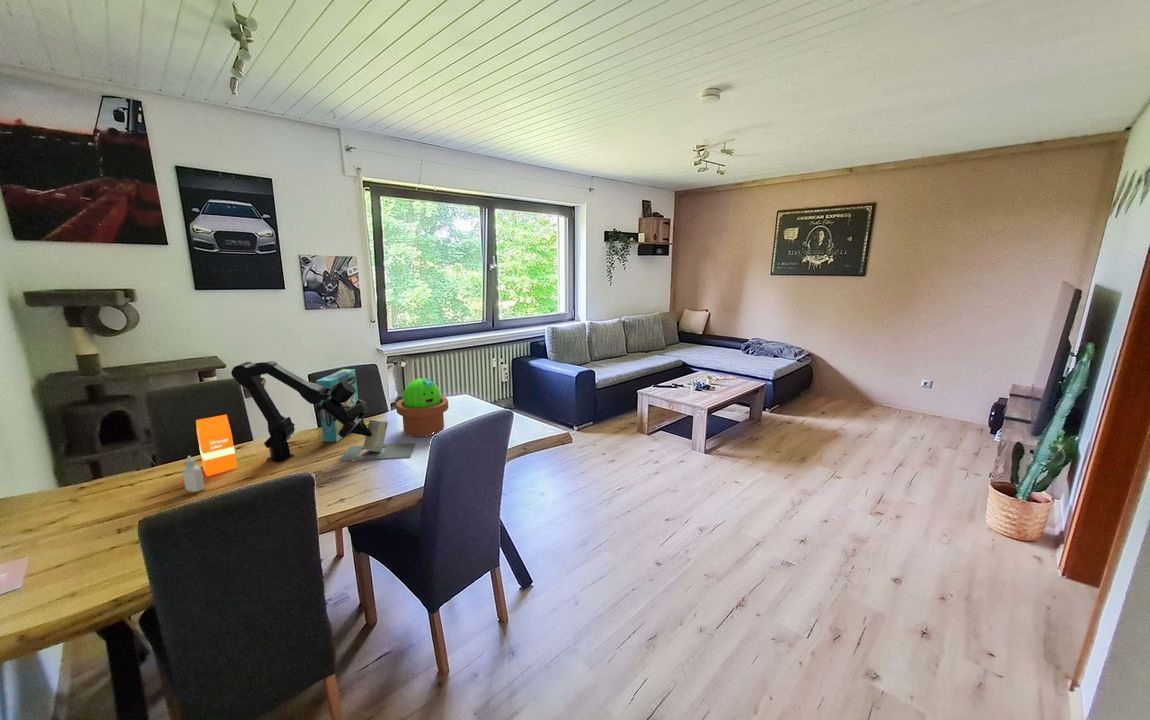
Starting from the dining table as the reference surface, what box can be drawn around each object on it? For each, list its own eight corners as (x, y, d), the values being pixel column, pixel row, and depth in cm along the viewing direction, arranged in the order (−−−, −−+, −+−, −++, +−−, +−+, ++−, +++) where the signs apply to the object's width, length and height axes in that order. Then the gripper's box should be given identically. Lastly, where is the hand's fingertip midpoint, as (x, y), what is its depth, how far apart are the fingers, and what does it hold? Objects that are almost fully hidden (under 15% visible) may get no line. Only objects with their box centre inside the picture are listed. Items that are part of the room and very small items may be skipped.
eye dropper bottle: (188, 495, 141) (181, 461, 138) (185, 489, 144) (178, 455, 142) (205, 490, 144) (199, 456, 141) (202, 484, 148) (195, 451, 145)
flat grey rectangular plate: (338, 462, 166) (338, 461, 165) (350, 447, 179) (350, 446, 179) (410, 457, 170) (410, 456, 170) (416, 443, 184) (416, 442, 184)
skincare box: (381, 452, 175) (389, 422, 177) (373, 451, 171) (380, 421, 173) (370, 449, 177) (378, 419, 179) (361, 448, 173) (369, 418, 175)
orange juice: (237, 468, 159) (229, 416, 155) (206, 476, 153) (196, 423, 149) (233, 461, 164) (224, 411, 160) (203, 469, 158) (193, 417, 154)
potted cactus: (391, 428, 199) (386, 376, 194) (436, 418, 214) (433, 369, 209) (410, 443, 184) (406, 386, 178) (457, 430, 198) (455, 378, 193)
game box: (337, 442, 183) (330, 380, 178) (322, 442, 183) (315, 380, 178) (361, 425, 203) (356, 369, 197) (348, 424, 203) (342, 368, 198)
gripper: (344, 403, 159) (379, 429, 163) (359, 389, 177) (390, 413, 181) (323, 424, 159) (358, 450, 164) (340, 408, 177) (371, 432, 182)
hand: (370, 435), depth 173 cm, fingers closed
